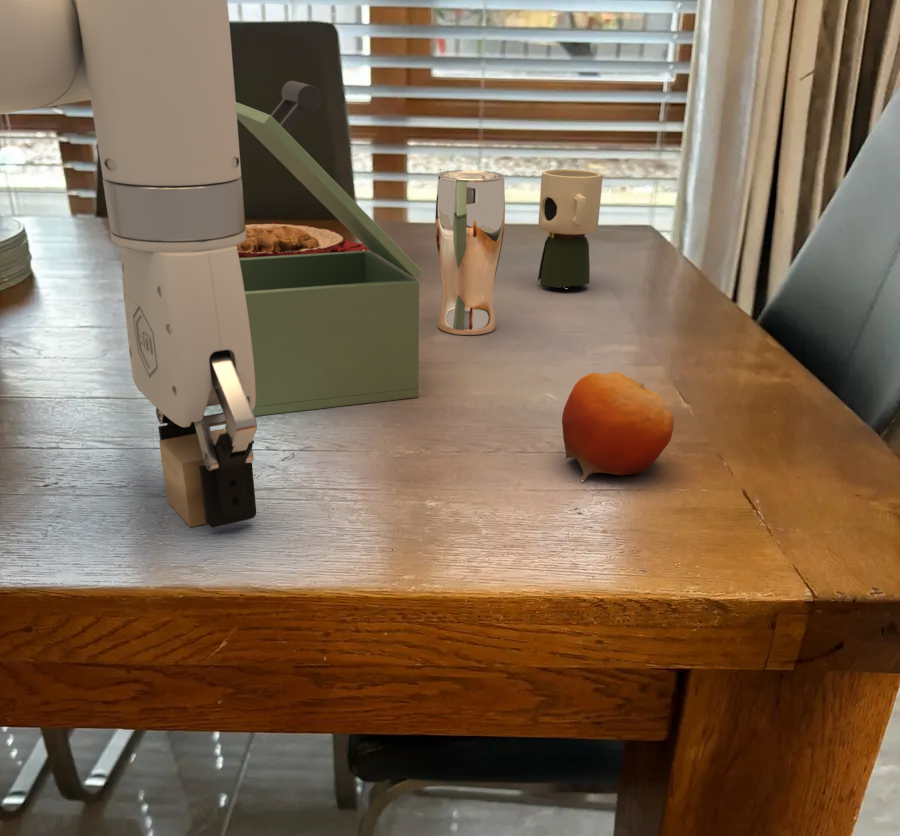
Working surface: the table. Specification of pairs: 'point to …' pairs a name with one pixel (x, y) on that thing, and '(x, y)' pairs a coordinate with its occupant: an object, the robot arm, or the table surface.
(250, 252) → the plate with food
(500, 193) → the beer glass
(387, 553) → the table surface
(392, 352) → the chest
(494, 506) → the table surface
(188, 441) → the block
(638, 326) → the table surface
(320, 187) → the chest door
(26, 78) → the robot arm
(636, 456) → the fruit
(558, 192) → the character mug
